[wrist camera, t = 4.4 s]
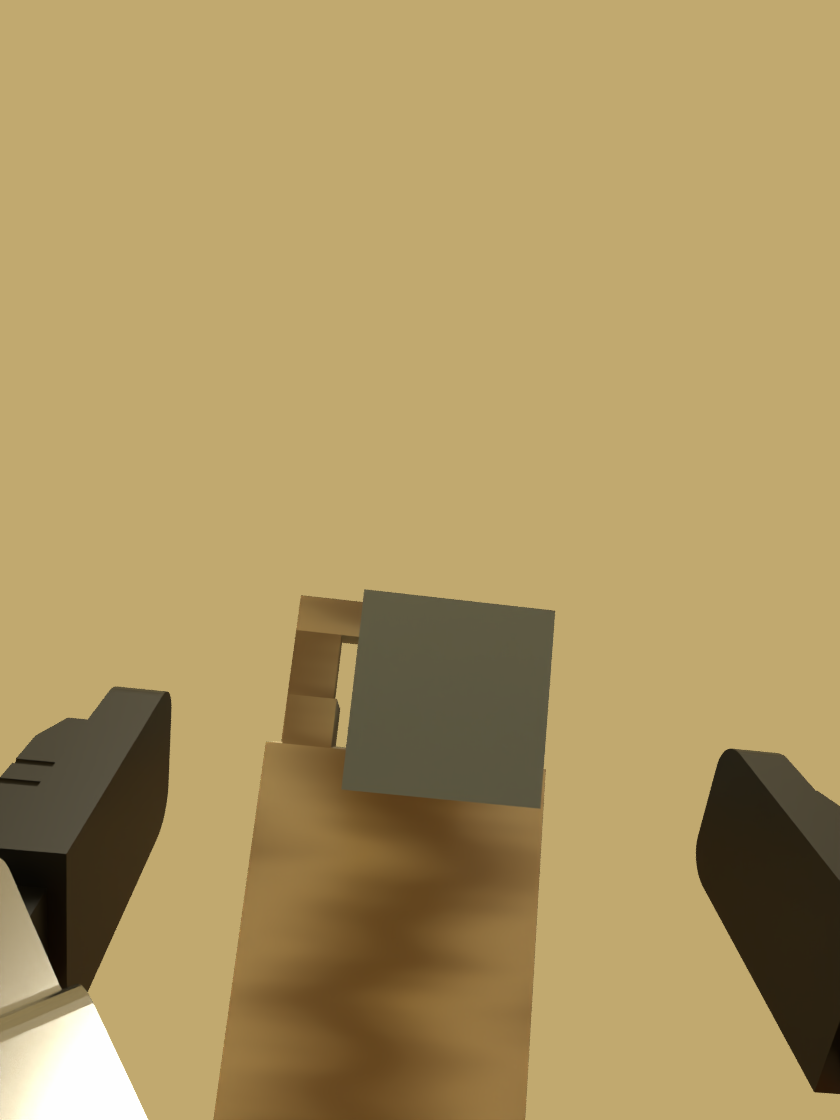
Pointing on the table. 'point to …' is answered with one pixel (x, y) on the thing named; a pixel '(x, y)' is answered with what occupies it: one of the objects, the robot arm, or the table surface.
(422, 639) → the bar
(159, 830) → the robot arm
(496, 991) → the tall patterned tan block
